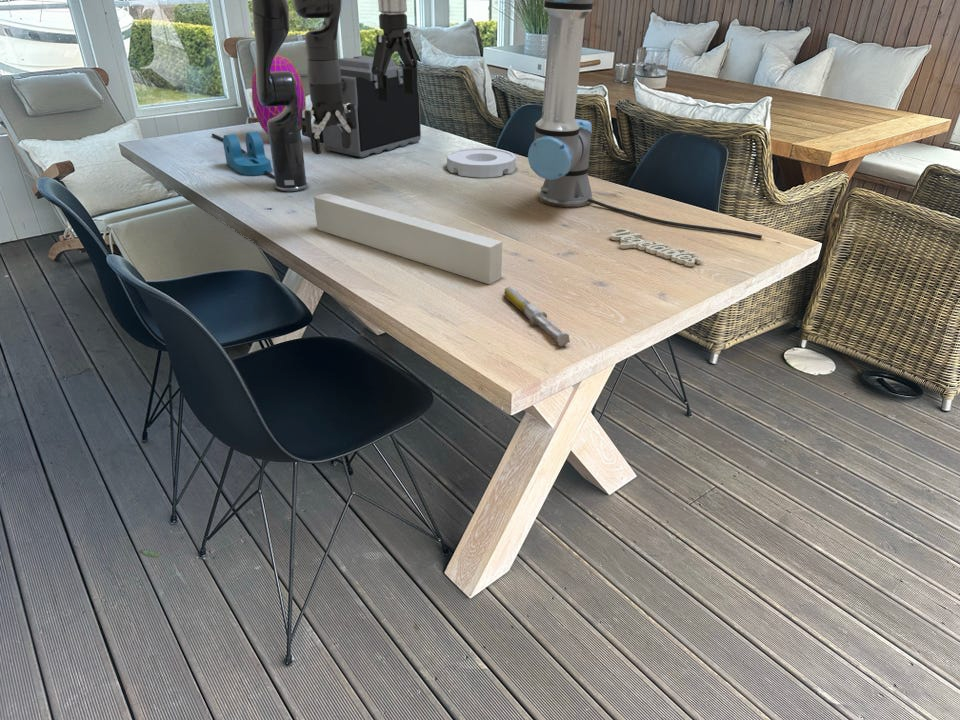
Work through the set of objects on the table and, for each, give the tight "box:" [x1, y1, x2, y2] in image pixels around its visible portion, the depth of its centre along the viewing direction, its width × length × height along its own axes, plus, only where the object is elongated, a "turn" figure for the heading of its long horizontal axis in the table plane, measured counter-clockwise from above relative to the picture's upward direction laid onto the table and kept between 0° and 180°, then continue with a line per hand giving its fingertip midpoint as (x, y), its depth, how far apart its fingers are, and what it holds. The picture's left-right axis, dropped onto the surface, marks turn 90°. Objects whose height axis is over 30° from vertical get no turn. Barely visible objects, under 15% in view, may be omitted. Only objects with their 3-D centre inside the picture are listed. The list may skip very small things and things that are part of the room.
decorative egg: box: [251, 54, 307, 136], centre depth 257 cm, size 19×19×30 cm
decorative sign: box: [610, 227, 702, 267], centre depth 169 cm, size 26×1×10 cm
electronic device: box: [318, 55, 422, 159], centre depth 250 cm, size 37×22×30 cm, turn 144°
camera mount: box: [222, 131, 272, 176], centre depth 226 cm, size 18×10×10 cm, turn 35°
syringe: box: [504, 285, 571, 348], centre depth 136 cm, size 25×4×3 cm, turn 21°
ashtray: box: [446, 147, 517, 179], centre depth 232 cm, size 23×23×4 cm
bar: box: [313, 192, 503, 285], centre depth 164 cm, size 56×4×9 cm, turn 53°
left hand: (332, 151), depth 168 cm, fingers open, 8 cm apart
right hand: (396, 96), depth 195 cm, fingers open, 13 cm apart
